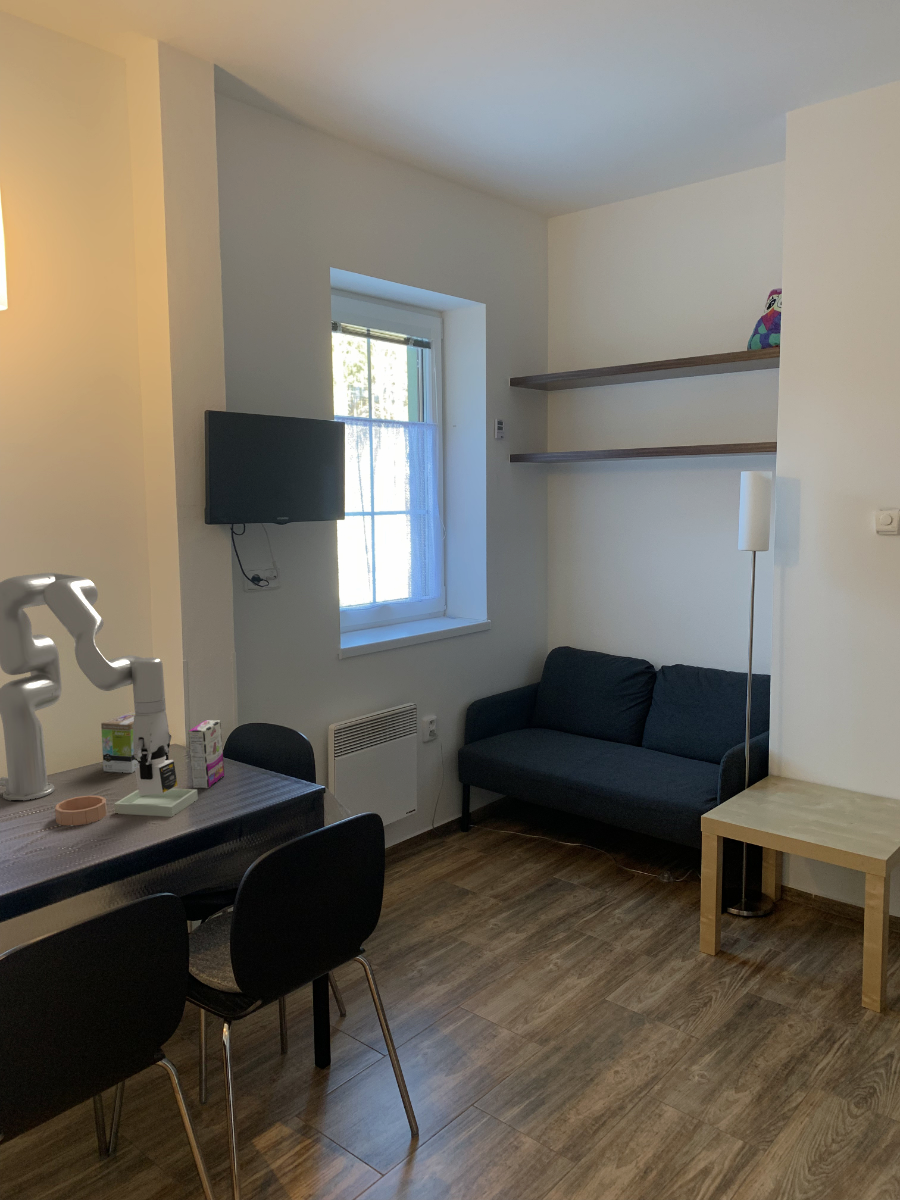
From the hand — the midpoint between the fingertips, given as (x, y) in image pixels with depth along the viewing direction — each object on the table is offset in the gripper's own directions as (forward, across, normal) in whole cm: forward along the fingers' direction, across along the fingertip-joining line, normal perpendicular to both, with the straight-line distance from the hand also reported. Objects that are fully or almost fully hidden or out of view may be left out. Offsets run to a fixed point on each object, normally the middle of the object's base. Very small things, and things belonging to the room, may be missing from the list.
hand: (155, 773), depth 232 cm
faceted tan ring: (+9, +10, -15) cm, 20 cm away
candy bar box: (+9, -20, +4) cm, 22 cm away
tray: (+9, 0, 0) cm, 9 cm away
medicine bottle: (+5, 0, +1) cm, 5 cm away
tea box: (+9, -32, -27) cm, 43 cm away
